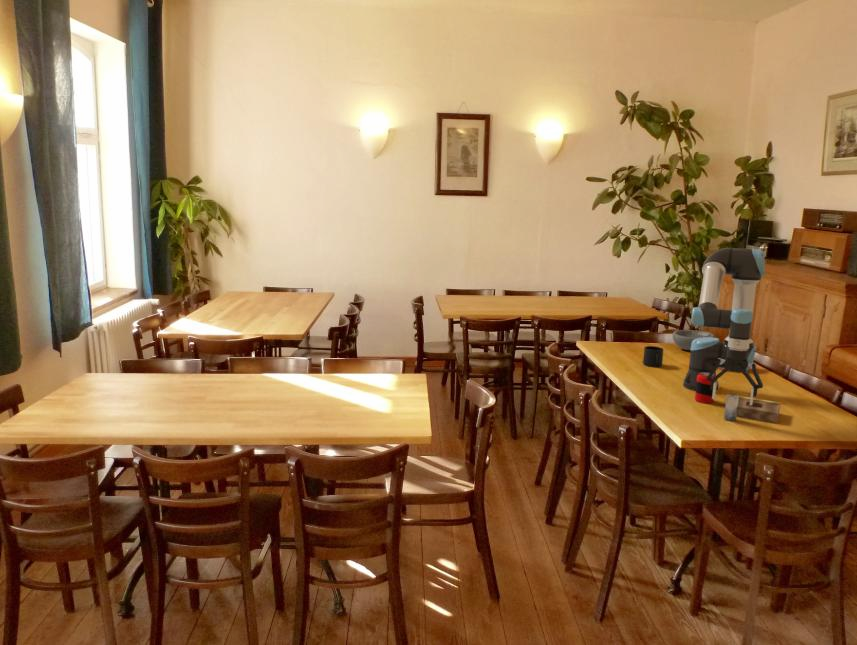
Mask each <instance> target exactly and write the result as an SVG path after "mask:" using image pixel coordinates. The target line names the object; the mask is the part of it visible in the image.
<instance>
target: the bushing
mask: <svg viewBox="0 0 857 645" xmlns="http://www.w3.org/2000/svg"><path fill="white" fill-rule="evenodd" d="M739 396H740V395H739V394H735V393H726V396H725V406H724V415H723V416H724V417H723V420H724V421H725V422H726V421H727V422H736V421H737V417H738V416H737V408H738V400H739Z"/></svg>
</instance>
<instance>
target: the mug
mask: <svg viewBox="0 0 857 645" xmlns="http://www.w3.org/2000/svg"><path fill="white" fill-rule="evenodd" d="M643 349H644V350H643V357H642V358H643V359H642V360H643V361H642V365H643V366H646V367H651V368H660V367H662V366H663V359H664V358H663V357H664V348H663V347H661V346H660V347H659V346H651V345H649V346H644V348H643Z"/></svg>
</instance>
